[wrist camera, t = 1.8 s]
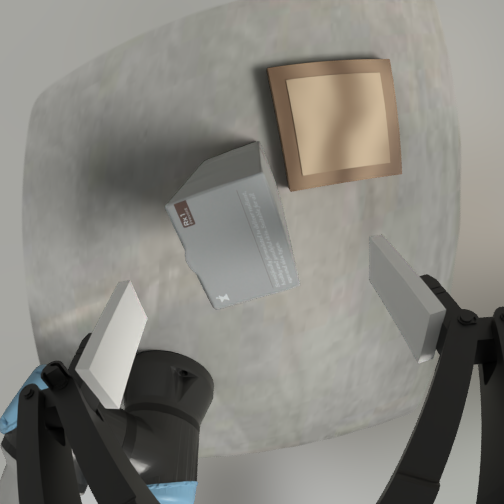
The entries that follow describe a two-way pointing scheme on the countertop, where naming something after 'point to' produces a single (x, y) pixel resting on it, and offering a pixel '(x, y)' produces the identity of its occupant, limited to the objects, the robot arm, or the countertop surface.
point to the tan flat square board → (336, 121)
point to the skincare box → (235, 228)
